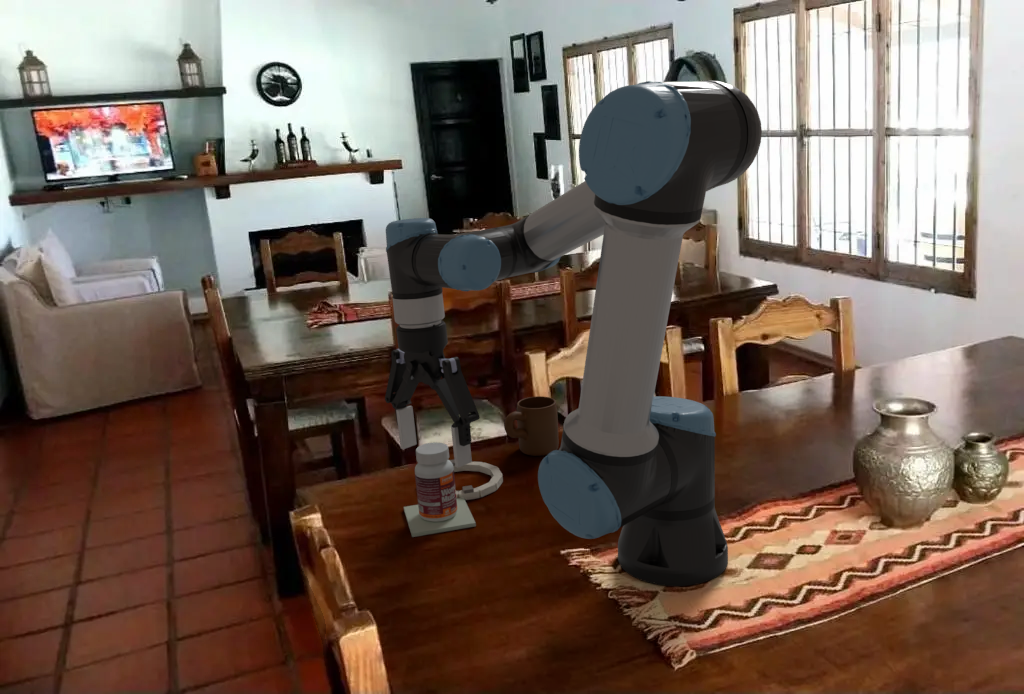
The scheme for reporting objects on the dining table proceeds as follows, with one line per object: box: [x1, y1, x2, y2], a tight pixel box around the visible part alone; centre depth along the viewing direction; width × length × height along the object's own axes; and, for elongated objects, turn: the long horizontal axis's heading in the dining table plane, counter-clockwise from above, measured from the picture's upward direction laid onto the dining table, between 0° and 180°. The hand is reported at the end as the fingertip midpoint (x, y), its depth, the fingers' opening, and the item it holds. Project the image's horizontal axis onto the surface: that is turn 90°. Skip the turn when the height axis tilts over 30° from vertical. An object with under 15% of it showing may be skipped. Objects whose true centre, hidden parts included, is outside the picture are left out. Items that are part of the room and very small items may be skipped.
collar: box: [449, 458, 504, 501], centre depth 151 cm, size 14×14×2 cm
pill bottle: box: [414, 441, 457, 522], centre depth 137 cm, size 6×6×11 cm
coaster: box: [403, 497, 477, 538], centre depth 139 cm, size 10×10×1 cm
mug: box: [503, 396, 560, 457], centre depth 162 cm, size 12×8×9 cm, turn 134°
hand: (435, 455), depth 135 cm, fingers open, 13 cm apart
